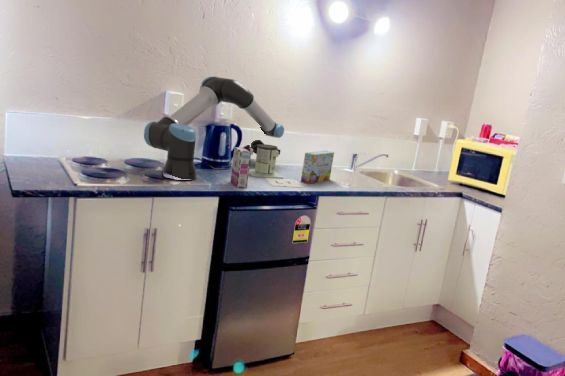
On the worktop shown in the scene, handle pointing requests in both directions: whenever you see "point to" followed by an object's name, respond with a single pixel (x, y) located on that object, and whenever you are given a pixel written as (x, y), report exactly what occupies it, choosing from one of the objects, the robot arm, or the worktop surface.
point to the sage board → (253, 174)
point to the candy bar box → (240, 167)
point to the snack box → (317, 166)
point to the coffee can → (265, 159)
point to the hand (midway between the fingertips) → (265, 153)
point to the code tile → (284, 182)
